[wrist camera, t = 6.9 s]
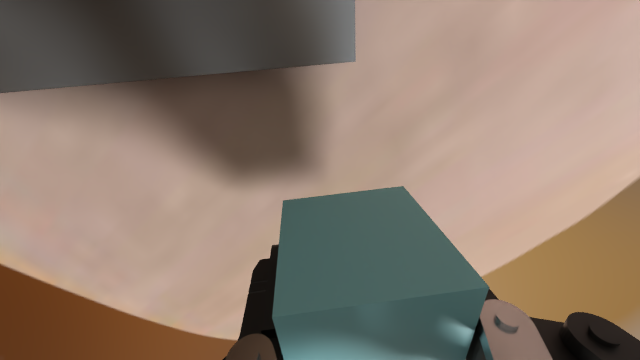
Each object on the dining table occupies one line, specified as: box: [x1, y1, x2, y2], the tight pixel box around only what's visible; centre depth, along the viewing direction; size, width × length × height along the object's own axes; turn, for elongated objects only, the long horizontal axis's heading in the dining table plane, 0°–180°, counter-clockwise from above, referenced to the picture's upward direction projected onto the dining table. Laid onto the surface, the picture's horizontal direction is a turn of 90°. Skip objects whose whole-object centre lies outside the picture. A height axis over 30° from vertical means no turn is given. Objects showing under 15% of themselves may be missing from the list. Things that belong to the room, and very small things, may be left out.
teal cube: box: [272, 186, 489, 360], centre depth 9 cm, size 5×5×5 cm
